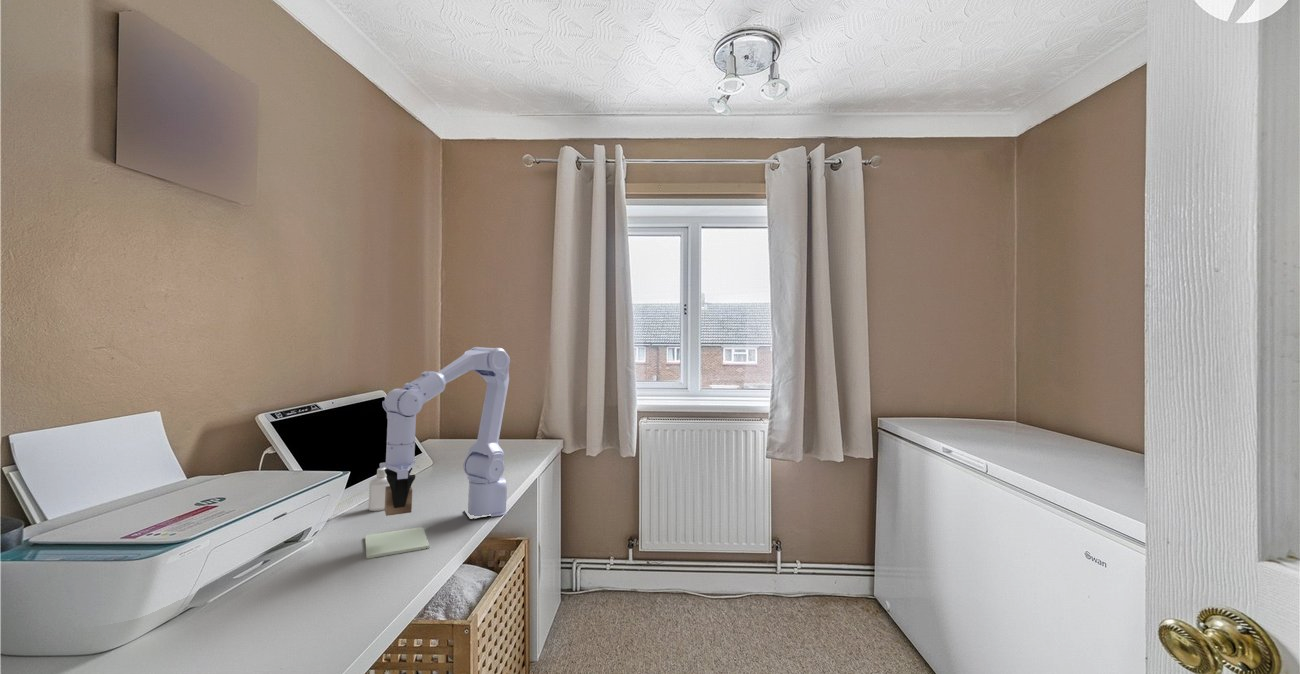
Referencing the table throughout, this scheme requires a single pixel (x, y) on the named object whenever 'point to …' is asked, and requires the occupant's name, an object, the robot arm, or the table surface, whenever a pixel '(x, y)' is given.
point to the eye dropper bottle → (378, 491)
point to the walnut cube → (390, 507)
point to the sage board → (395, 542)
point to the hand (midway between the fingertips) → (398, 503)
